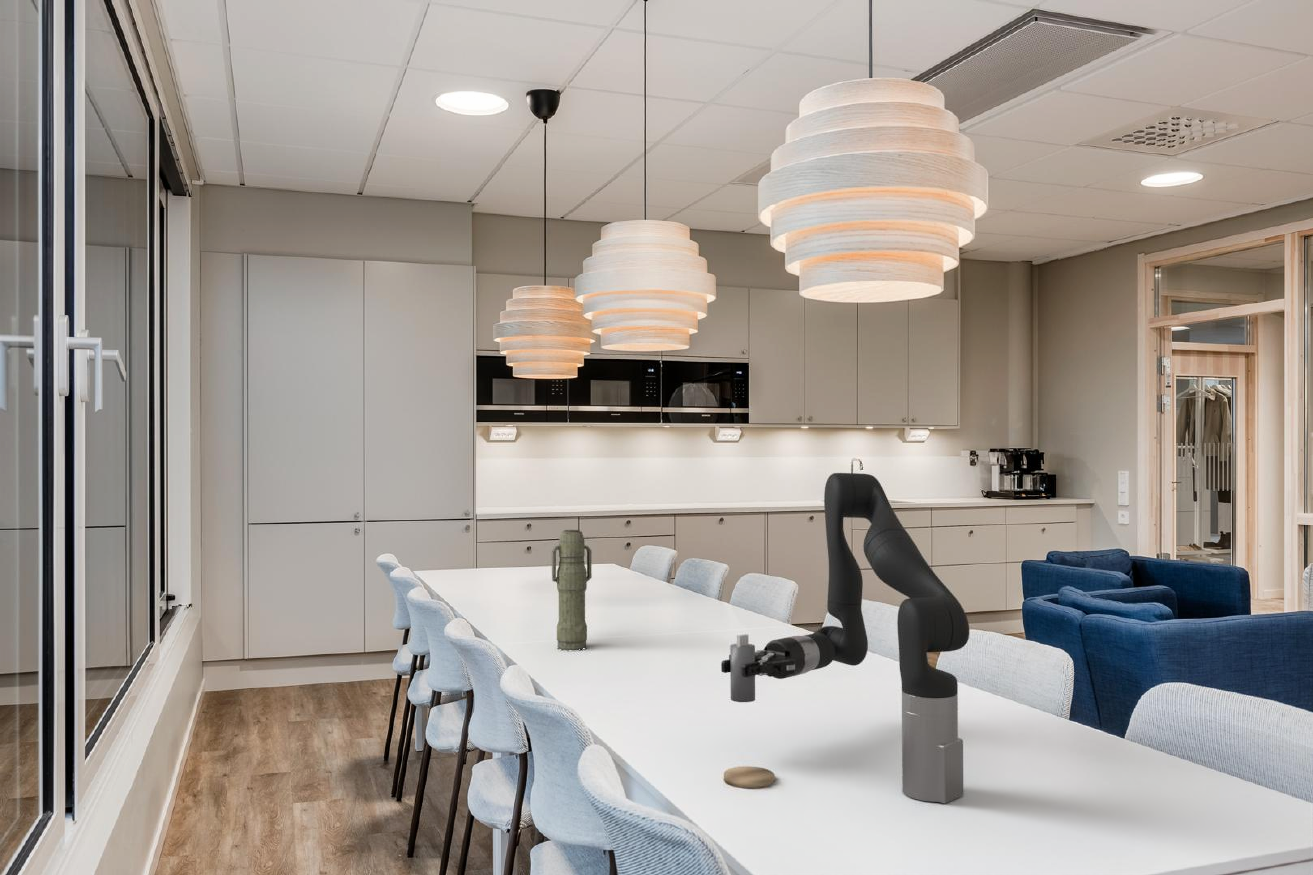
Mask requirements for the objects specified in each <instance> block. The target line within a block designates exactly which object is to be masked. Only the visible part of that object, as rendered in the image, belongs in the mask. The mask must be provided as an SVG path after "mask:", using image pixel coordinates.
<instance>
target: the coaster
mask: <svg viewBox="0 0 1313 875" xmlns="http://www.w3.org/2000/svg"><path fill="white" fill-rule="evenodd" d="M723 782H724V783H725V784H727V785H729V786H731V787H735V788H739V787H740V789H761V788H762V787H763V788H766V787H770V786H772V785H774V783H775V773H774V772H773V771H771V770H770V769H767V768H764V767H759V766H749V765H747V766H746V765H745V766H744V765H743V766H735V767H730V768H728V769H726V770H725V771H724V772H723ZM763 788H762V789H763Z"/></svg>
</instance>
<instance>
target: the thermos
mask: <svg viewBox="0 0 1313 875" xmlns="http://www.w3.org/2000/svg"><path fill="white" fill-rule="evenodd" d="M585 549H586V552H585ZM557 551H558V557H559V561H558V567H557ZM585 553H586V565H585ZM592 574H593V573H592V549H591V547H589V546H588V545H586V544H585V538H584V535H583V531H581V530H580V529H565V530H563V531H561V533H560V536H559V540H558V545H557V546H554V547H553V549H552V550H551V579H552V582H555V583H556V589H557V592H558V622H557V625H556V641H557V647H558V648H557V650H559V649H561V650H560V651H562V650H579V649H583V648H586V649H587V640H588V626H587V622H586V590H587V589H588V588H587V583H588V581H590V580H591V579H592V576H593V575H592ZM579 651H580V650H579Z"/></svg>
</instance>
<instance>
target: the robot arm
mask: <svg viewBox="0 0 1313 875" xmlns="http://www.w3.org/2000/svg"><path fill="white" fill-rule="evenodd" d="M885 492H886V491H885V490H884V488H883V487H882V485H881V483H880V482H879V480H878V478H877V477H875V476H874V475H872V474H869V473H868V474H867V473H857V472H856V473H855V472H854V473H853V472H851V473H850V472H834V473H832V474H831V475H829V476H828V478H827V480H826V483H825V487H824V495H823V496H824V497H823V499H824V500H823V504H824V519H825V533H826V542H827V543H826V547H827V557H828V558H827V559H828V583H827V584H828V585H827V586H828V587H827V603H826V608H827V613H828V614H829V615H831V616H832V617H834V618H836V619H837V620H839V622H840V624H841V627H839V626H835V625H827V626H822V627H820V628H819V629H817V630H816V631H814V632H813V633H810V634H803V635H793V636H792V635H791V636H788V637H783V638H779V639H774V640H770V641H769V642H768V643H766V644H765V647H764V649H758V650H755V662H754V663H749V664H745V665H742V676H743V677H750V676H754V675H755V676H759V677H762V676H767V677H769V678H772V677H773V678H774V679H779V680H783V679H787V678H792V677H796V676H799V675H800V676H801V675H803V674H806V673H808V672H810V671H814V670H818V669H822V668H826V667H827V666H829V665H830V664H832V662H833V661H834V662H836V663H841V664H844V665H847V666H852V667H853V666H857V665H860V664H862V663H863V661H864V660H865V658H866V656H867V654H868V649H869V648H868V647H869V644H868V643H869V642H868V641H869V640H868V635H867V631H866V625H865V621H864V616H863V610H862V605H863V604H862V602H863V589H864V588H863V586H864V585H863V582H864V581H863V574H862V570H861V568H860V565H859V563H858V562H857V559H856V558H855V556H854V554H853V552H852V550H851V549H850V546H849V544H848V542H847V539H846V536H845V531H844V518H847V519H848V518H849V519H850V518H852V519H854V518H855V519H856V518H857V519H866V520H867V521H868V522H869V523H870V524H871V525H870V526H869V528H868V530H867V532H866V533H865V536H864V538H863V539H864V540H863V547H862V548H863V553H864V556H865V558H866V560H867V562H868V564H869V565H870V567H871V569H872V571H873V572H874V574H875V575H876V576H877V578H878V579H879V580H880V581H881V582H883V583H884V584H886V585H887V586H888V587H890V588H892V589H894V590H895V591H897V592H898V593H900V594H902V595H904V596H905V597H907V598H906V599H904V600H902V601H901V603H900V605H899V608H898V612H897V621H896V622H897V623H896V624H897V625H896V626H897V638H898V639H897V641H898V657H899V658H898V659H899V660H898V661H899V663H898V664H899V672H900V673H899V674H900V680H901V769H902V772H901V774H902V776H901V777H902V778H901V782H902V784H901V786H902V788H901V790H902V792H903V794H904V795H906V796H907V797H909V798H912V799H915V800H917V801H923V802H932V803H941V804H947V803H950V802H952V801H954V800H956V799H957V798H961V797H963V796H964V740H963V738H960V737H959V721H958V720H959V718H958V717H959V715H958V714H959V712H958V710H959V708H958V706H959V702H958V700H959V699H958V698H959V697H958V696H959V694H958V693H959V692H958V691H959V690H958V688H959V687H958V686H959V684H958V679H957V677H956V676H955V675H953V674H952V673H950V672H948V671H945V670H942V669H938V668H935V667H933V666H932V665H931V664H929V661H928V660H929V659H928V654H927V653H942V652H943V653H946V652H948V653H949V652H953V651H954V652H955V651H958V650H960V649H962V648H964V647H965V645H966V644H967V643H968V641H969V639H970V638H969V637H970V624H969V620H968V617H967V614H966V612H965V609H964V608H963V606H962V605H961V603H960V601H959V600H958V599H957V598H956V597H955V595H954V594H953V593H952V592H951V590H949V589H948V587H947V586H946V585H945V583H943V582H942V580H941V579H940V578H939V577H938V576H937V574H936V573H935V572H934V571H933V569H932V568H931V567H930V565H929V564H928V561H927V560H926V559H925V558H924V556H923V555H922V553H921V552H920V550H919V548H918V546H917V544H916V543H915V541H914V540H913V538H912V537H911V536H910V534H909V533H908V532H907V530H906V529H905V528H904V525H903V524H902V523H901V521H900V519H899V518H898V516H897V515H896V513H895V511H894V510H893V508H892V505H891V504H890V501H889V499H888V497H887V494H886V493H885ZM720 666H721V673H724V674H726V673H731V670H730V654H729V655H728V659H723V660H722V661H721V665H720Z"/></svg>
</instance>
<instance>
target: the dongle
mask: <svg viewBox="0 0 1313 875" xmlns="http://www.w3.org/2000/svg"><path fill="white" fill-rule="evenodd" d="M729 647H730V648H729V649H730V654H729V655H730V670H731V672H730V700H731V701H732V702H737V703H751V702H755V700H756V675H754V676H750V677H743V676H742V665H745V664H749V663H754V662H755V652H756V646H755V644H752V643H749V634H747V633H743V634H739V635H736V643H733V644H730V646H729Z"/></svg>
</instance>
